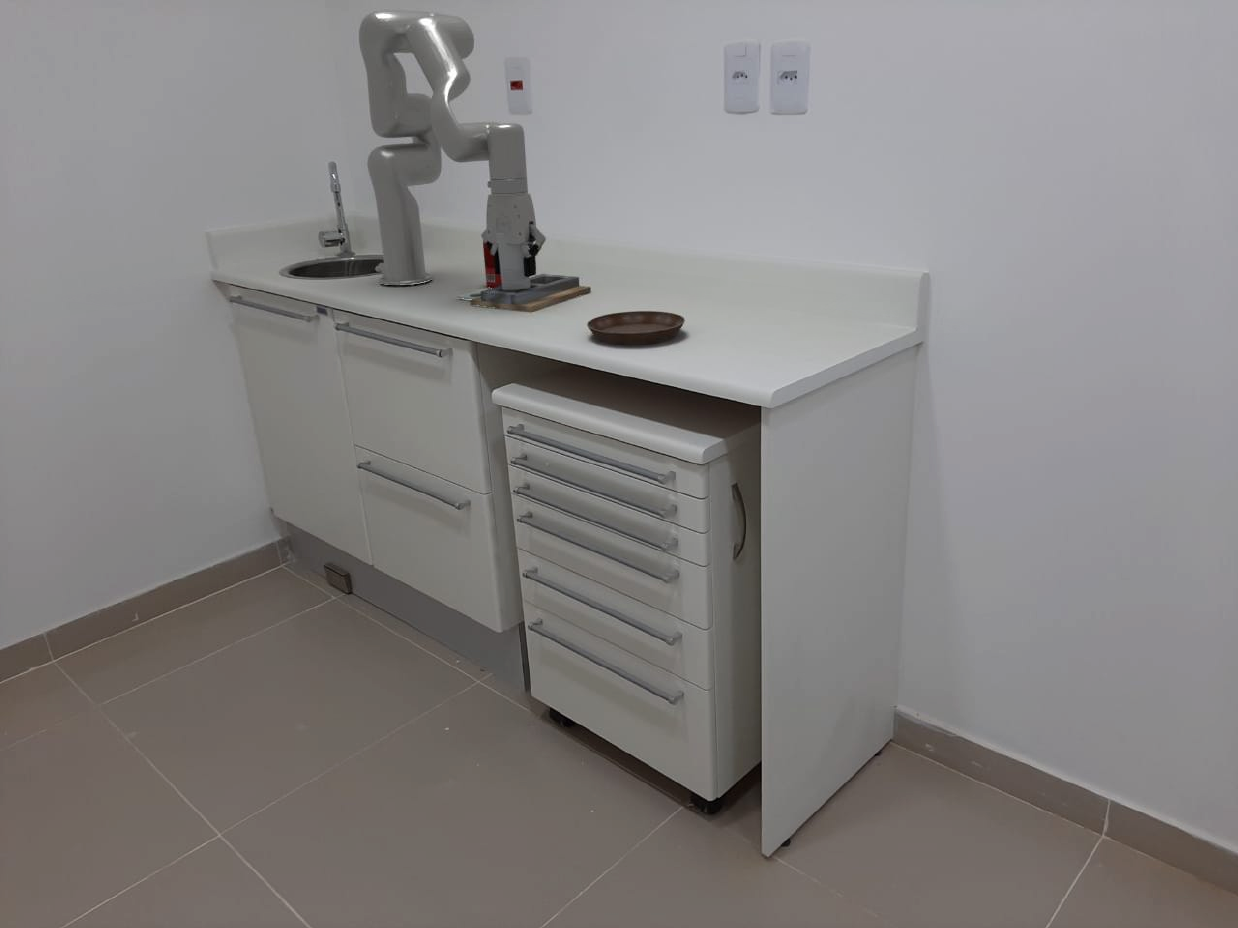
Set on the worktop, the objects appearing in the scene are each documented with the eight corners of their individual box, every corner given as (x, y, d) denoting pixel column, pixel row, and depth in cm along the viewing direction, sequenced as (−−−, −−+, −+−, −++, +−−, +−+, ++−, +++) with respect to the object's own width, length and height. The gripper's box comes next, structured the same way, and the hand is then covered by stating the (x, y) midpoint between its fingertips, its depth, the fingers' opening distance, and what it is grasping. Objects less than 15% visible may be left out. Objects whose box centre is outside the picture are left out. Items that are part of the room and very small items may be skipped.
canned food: (519, 289, 221) (515, 240, 217) (484, 290, 221) (480, 241, 217) (522, 282, 228) (519, 235, 224) (489, 283, 228) (485, 236, 224)
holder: (470, 305, 205) (469, 290, 204) (533, 287, 222) (532, 273, 221) (530, 312, 197) (529, 296, 196) (590, 292, 214) (590, 278, 213)
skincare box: (530, 285, 207) (526, 228, 202) (530, 289, 203) (526, 231, 198) (501, 287, 206) (497, 229, 202) (501, 291, 202) (496, 232, 198)
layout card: (456, 299, 212) (456, 295, 212) (485, 290, 220) (485, 287, 220) (481, 301, 209) (480, 298, 208) (509, 293, 216) (509, 289, 216)
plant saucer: (567, 340, 175) (566, 324, 174) (630, 321, 187) (629, 306, 186) (642, 354, 164) (642, 337, 163) (704, 333, 177) (704, 317, 175)
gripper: (464, 188, 199) (472, 275, 205) (532, 190, 190) (538, 280, 196) (488, 185, 205) (494, 269, 211) (554, 186, 196) (559, 274, 202)
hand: (515, 274), depth 204 cm, fingers open, 7 cm apart
